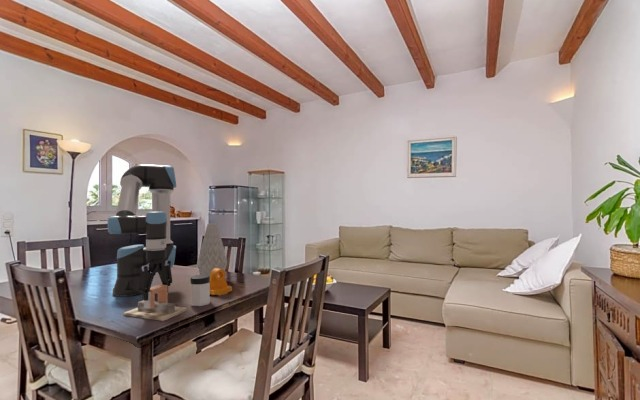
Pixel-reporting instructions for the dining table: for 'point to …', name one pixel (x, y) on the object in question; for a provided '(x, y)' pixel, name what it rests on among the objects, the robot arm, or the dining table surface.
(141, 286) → the robot arm
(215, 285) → the bracket
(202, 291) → the jar
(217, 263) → the vase
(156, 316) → the rail board
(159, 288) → the clip
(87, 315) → the dining table surface
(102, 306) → the dining table surface
